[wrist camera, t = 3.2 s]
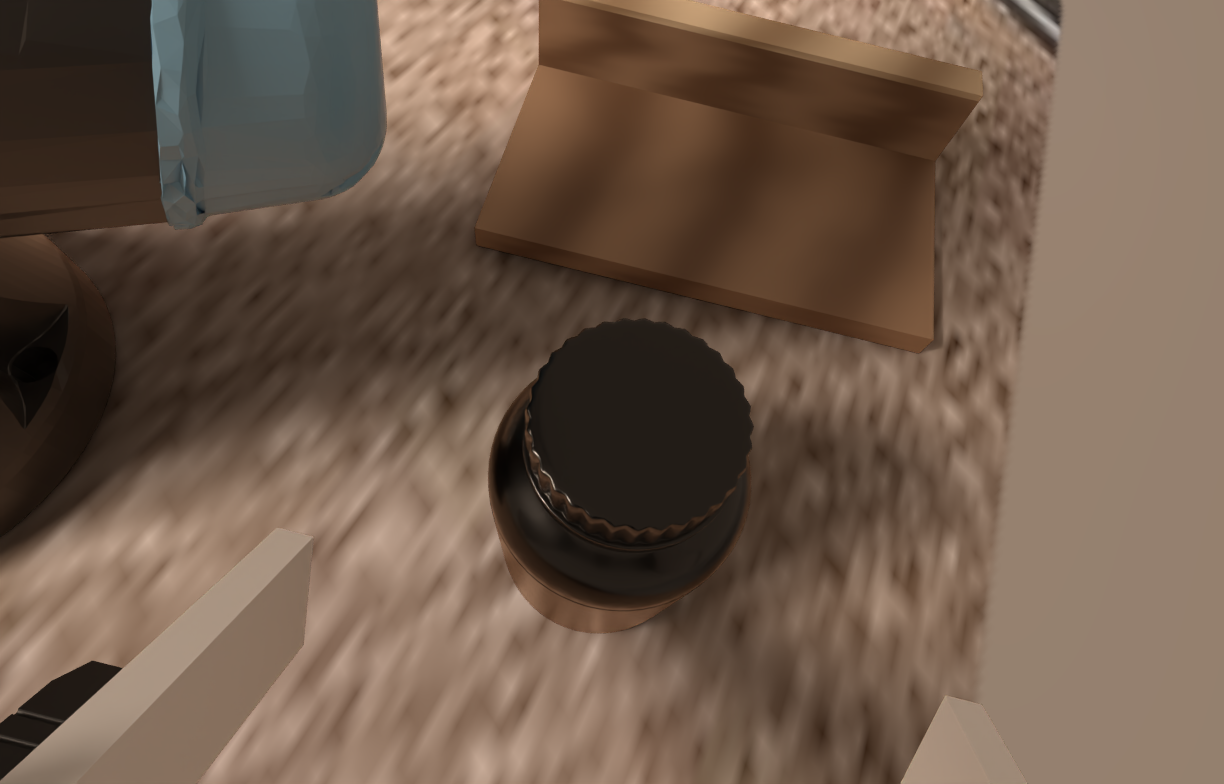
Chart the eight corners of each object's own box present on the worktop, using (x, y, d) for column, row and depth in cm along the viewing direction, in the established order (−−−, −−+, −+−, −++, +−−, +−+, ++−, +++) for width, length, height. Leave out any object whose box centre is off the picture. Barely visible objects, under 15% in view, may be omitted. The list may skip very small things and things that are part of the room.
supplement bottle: (483, 476, 25) (443, 304, 14) (654, 433, 27) (734, 247, 16) (528, 665, 23) (520, 629, 12) (715, 606, 24) (860, 525, 13)
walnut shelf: (476, 245, 30) (465, 160, 25) (546, 64, 35) (548, -34, 30) (918, 353, 29) (989, 288, 25) (922, 155, 35) (981, 71, 30)
